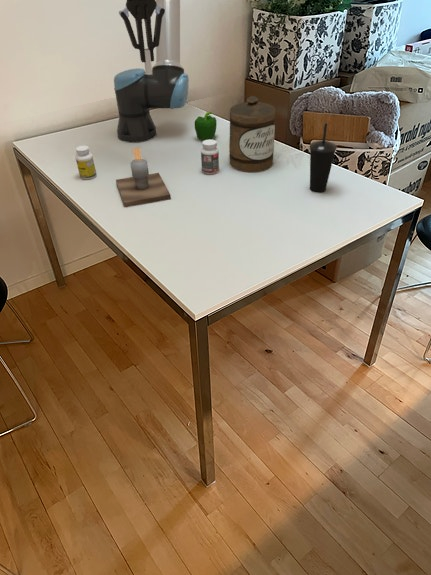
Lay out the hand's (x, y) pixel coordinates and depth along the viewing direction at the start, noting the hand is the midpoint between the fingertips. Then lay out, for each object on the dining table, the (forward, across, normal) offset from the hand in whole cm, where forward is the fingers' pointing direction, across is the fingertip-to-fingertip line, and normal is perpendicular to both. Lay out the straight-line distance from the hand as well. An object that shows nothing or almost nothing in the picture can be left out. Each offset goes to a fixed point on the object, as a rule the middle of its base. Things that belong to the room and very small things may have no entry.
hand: (148, 73), depth 137 cm
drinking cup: (+30, +41, -36) cm, 62 cm away
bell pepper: (+30, +22, +15) cm, 40 cm away
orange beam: (+24, -9, -12) cm, 28 cm away
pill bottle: (+30, +15, -12) cm, 35 cm away
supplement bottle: (+30, -24, +1) cm, 38 cm away
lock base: (+29, -10, -17) cm, 35 cm away
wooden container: (+30, +30, -11) cm, 43 cm away
